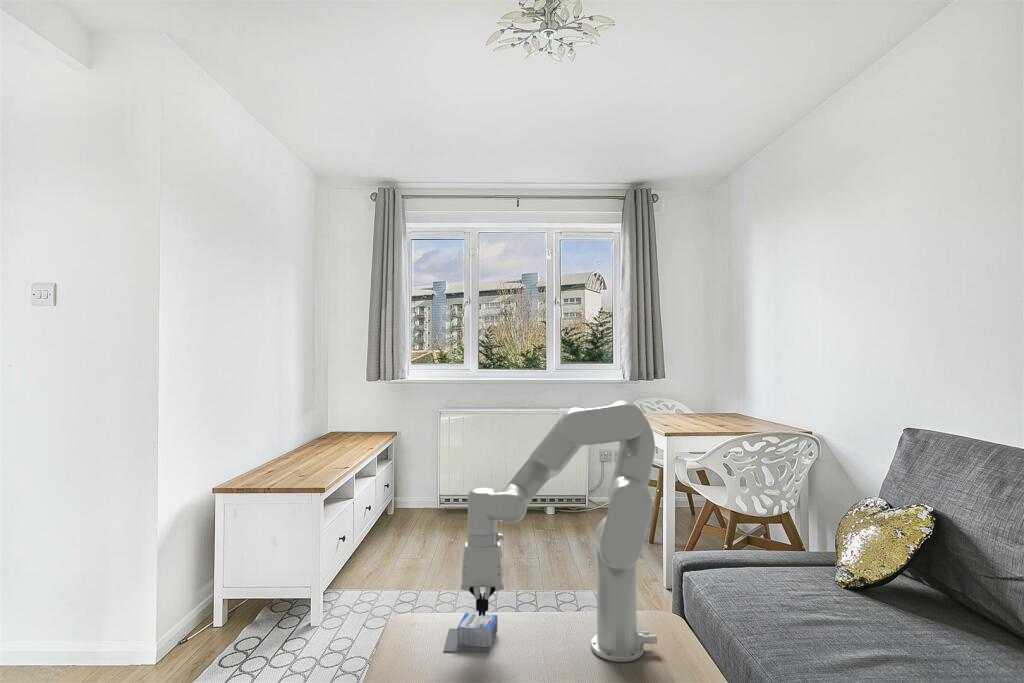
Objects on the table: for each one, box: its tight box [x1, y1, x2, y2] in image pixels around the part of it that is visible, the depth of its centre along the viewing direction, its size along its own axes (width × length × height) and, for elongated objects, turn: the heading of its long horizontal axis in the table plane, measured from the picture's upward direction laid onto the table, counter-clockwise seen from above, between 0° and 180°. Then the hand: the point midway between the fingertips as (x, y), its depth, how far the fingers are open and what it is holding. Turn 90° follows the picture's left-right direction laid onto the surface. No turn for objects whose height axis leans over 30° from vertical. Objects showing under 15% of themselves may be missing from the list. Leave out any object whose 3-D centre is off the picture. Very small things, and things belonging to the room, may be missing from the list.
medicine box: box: [456, 612, 499, 648], centre depth 134 cm, size 8×4×9 cm
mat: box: [442, 628, 491, 653], centre depth 133 cm, size 11×11×1 cm
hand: (482, 613), depth 133 cm, fingers closed
